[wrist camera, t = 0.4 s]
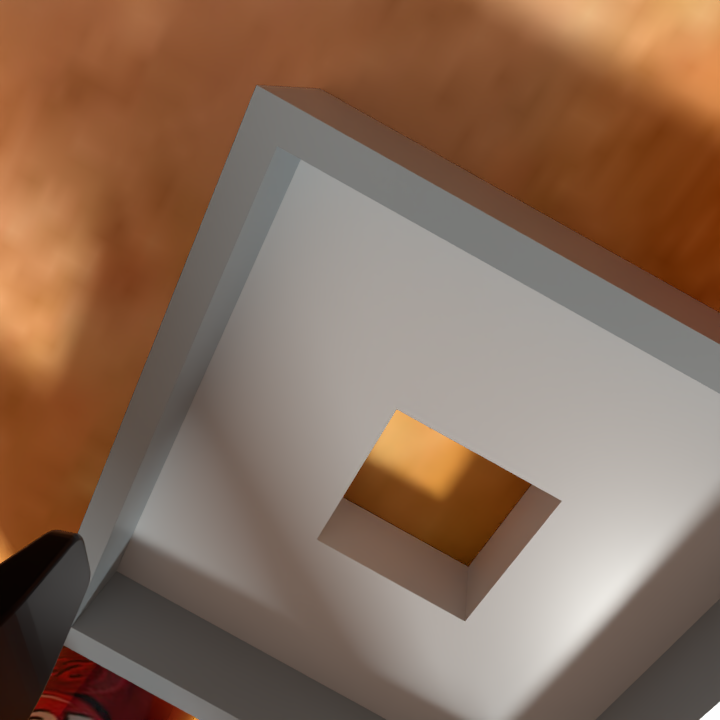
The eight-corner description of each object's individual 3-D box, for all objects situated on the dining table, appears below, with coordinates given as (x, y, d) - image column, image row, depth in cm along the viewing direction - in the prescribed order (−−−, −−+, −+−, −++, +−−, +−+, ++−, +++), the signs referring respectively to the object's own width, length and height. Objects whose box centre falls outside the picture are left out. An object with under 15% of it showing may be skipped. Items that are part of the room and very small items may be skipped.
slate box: (525, 750, 29) (531, 901, 24) (125, 530, 29) (38, 631, 23) (872, 398, 21) (1005, 504, 16) (320, 88, 21) (256, 85, 15)
